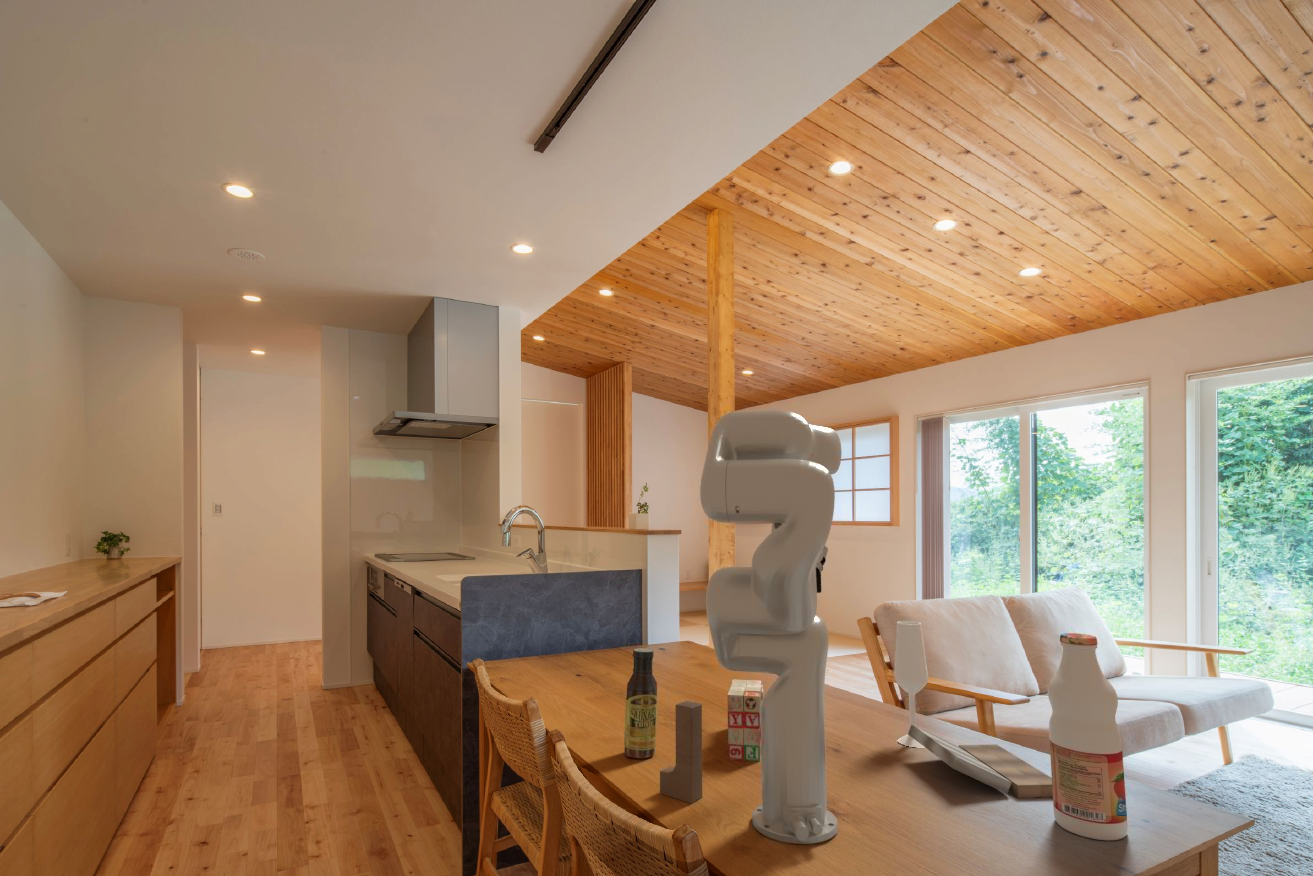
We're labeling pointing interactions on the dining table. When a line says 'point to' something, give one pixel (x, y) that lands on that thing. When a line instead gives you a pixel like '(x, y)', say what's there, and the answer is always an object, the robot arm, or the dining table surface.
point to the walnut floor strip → (1013, 771)
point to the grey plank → (959, 759)
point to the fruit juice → (1086, 745)
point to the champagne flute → (910, 668)
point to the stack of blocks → (745, 720)
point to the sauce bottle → (641, 707)
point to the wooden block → (685, 756)
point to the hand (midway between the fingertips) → (796, 594)
